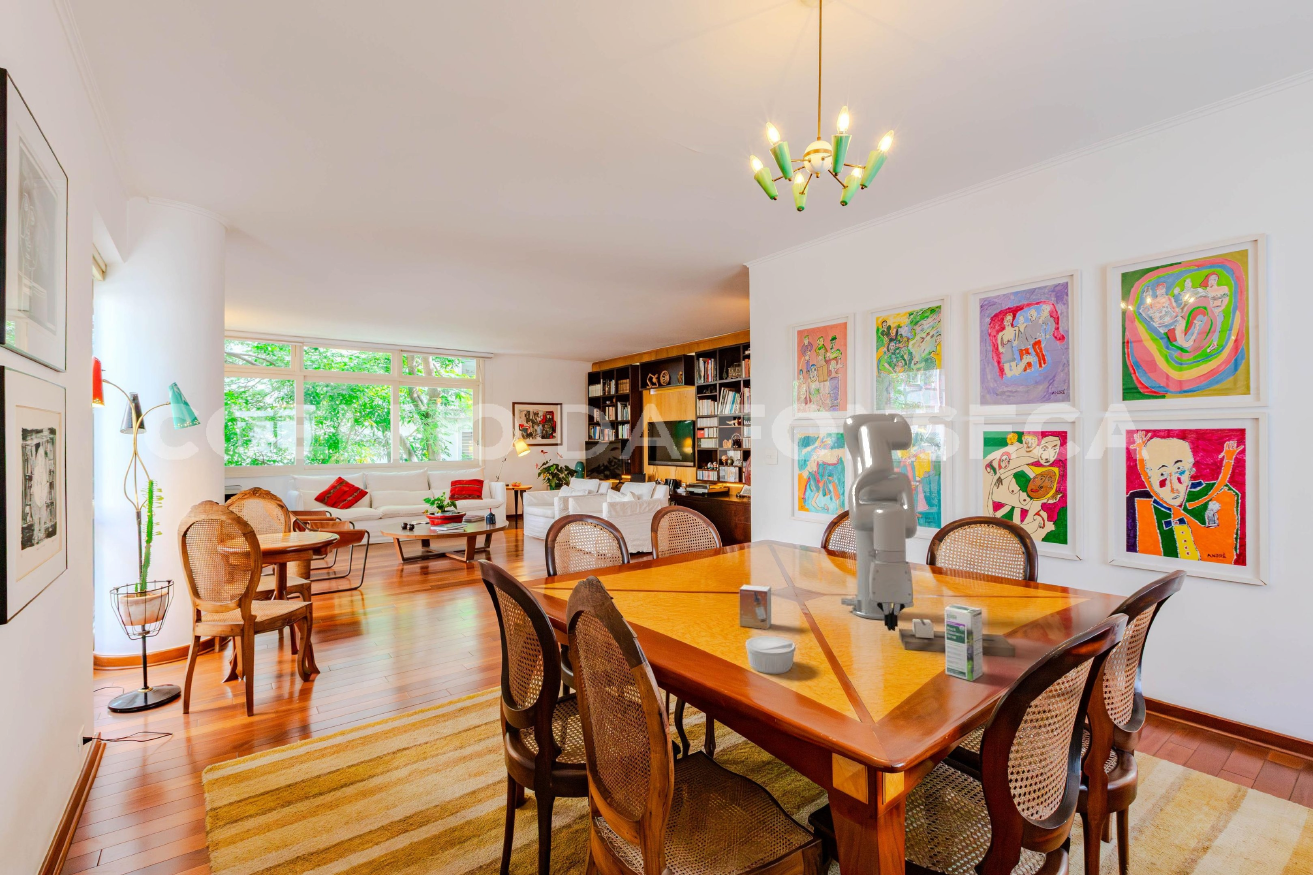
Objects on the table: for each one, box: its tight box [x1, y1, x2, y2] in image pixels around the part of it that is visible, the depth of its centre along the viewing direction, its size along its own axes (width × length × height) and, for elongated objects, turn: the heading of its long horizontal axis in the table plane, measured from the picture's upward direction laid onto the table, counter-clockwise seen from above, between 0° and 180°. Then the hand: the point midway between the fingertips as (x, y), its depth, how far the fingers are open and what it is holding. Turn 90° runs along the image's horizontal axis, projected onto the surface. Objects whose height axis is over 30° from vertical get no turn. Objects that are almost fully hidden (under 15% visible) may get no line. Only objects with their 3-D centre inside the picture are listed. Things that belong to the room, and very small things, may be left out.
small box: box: [738, 584, 772, 630], centre depth 167 cm, size 8×6×10 cm
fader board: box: [898, 628, 1016, 658], centre depth 148 cm, size 24×10×2 cm, turn 76°
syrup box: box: [944, 603, 984, 682], centre depth 130 cm, size 6×6×14 cm
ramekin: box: [745, 635, 796, 675], centre depth 136 cm, size 11×11×5 cm
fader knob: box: [912, 618, 935, 638], centre depth 149 cm, size 4×5×3 cm
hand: (891, 628), depth 151 cm, fingers closed
